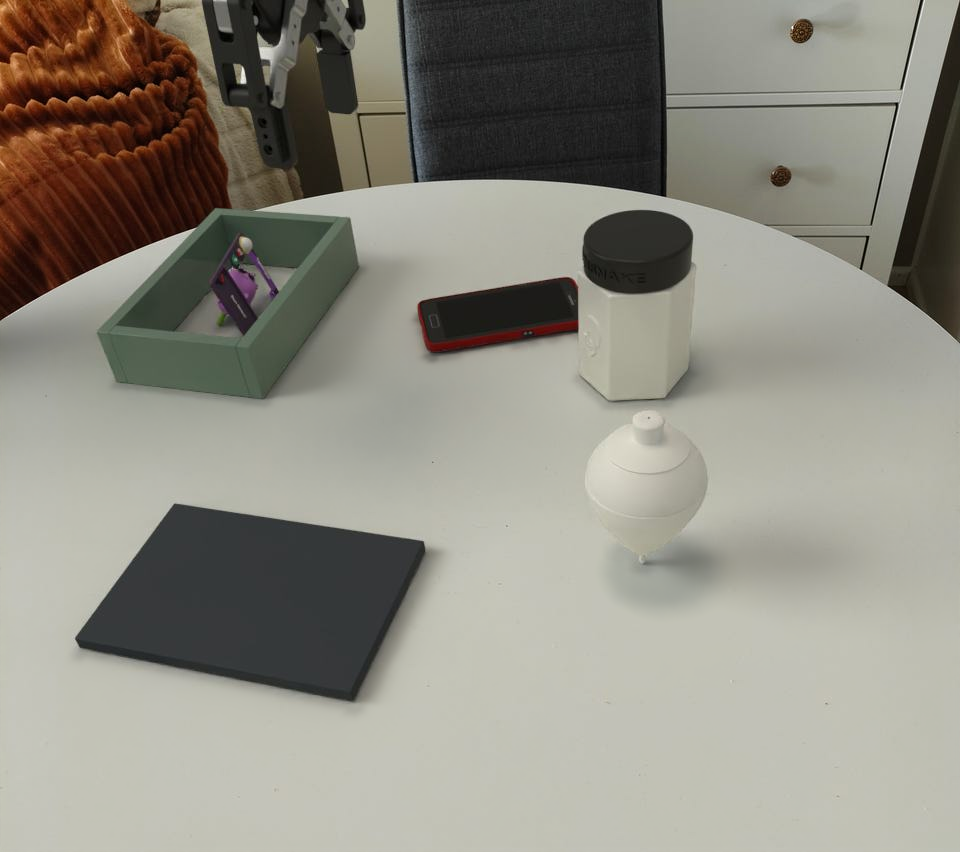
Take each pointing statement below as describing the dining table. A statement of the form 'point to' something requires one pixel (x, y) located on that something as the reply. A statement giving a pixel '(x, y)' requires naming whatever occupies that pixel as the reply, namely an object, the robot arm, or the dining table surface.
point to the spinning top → (646, 482)
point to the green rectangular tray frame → (185, 281)
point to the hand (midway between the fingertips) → (313, 138)
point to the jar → (635, 304)
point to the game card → (238, 285)
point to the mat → (257, 599)
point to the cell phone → (499, 314)
